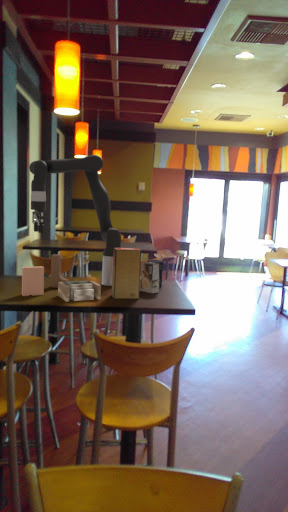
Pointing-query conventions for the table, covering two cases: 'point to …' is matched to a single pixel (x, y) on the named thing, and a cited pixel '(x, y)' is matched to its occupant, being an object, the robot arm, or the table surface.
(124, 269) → the food packaging
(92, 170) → the robot arm
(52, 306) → the table surface
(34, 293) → the pink rectangular block
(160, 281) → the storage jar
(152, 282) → the coffee box
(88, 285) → the offcut rack
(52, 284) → the wooden block
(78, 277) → the table surface
